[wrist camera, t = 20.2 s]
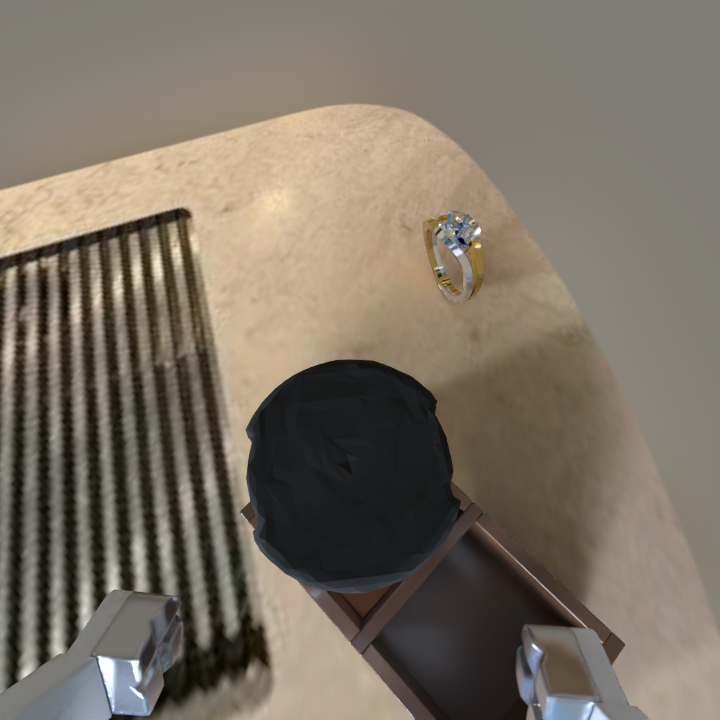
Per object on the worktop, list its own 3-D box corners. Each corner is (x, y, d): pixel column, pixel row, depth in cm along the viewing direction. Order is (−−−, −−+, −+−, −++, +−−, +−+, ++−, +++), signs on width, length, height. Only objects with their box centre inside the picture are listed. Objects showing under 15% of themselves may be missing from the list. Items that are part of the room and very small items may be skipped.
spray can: (403, 461, 32) (437, 334, 14) (422, 564, 30) (497, 574, 11) (310, 476, 32) (222, 366, 14) (321, 581, 29) (230, 619, 11)
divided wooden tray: (580, 628, 29) (626, 644, 23) (478, 771, 26) (504, 825, 21) (362, 420, 35) (360, 395, 29) (261, 519, 32) (238, 512, 27)
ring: (477, 312, 38) (502, 254, 31) (442, 325, 38) (459, 268, 30) (443, 249, 41) (458, 181, 33) (410, 260, 40) (418, 194, 33)
